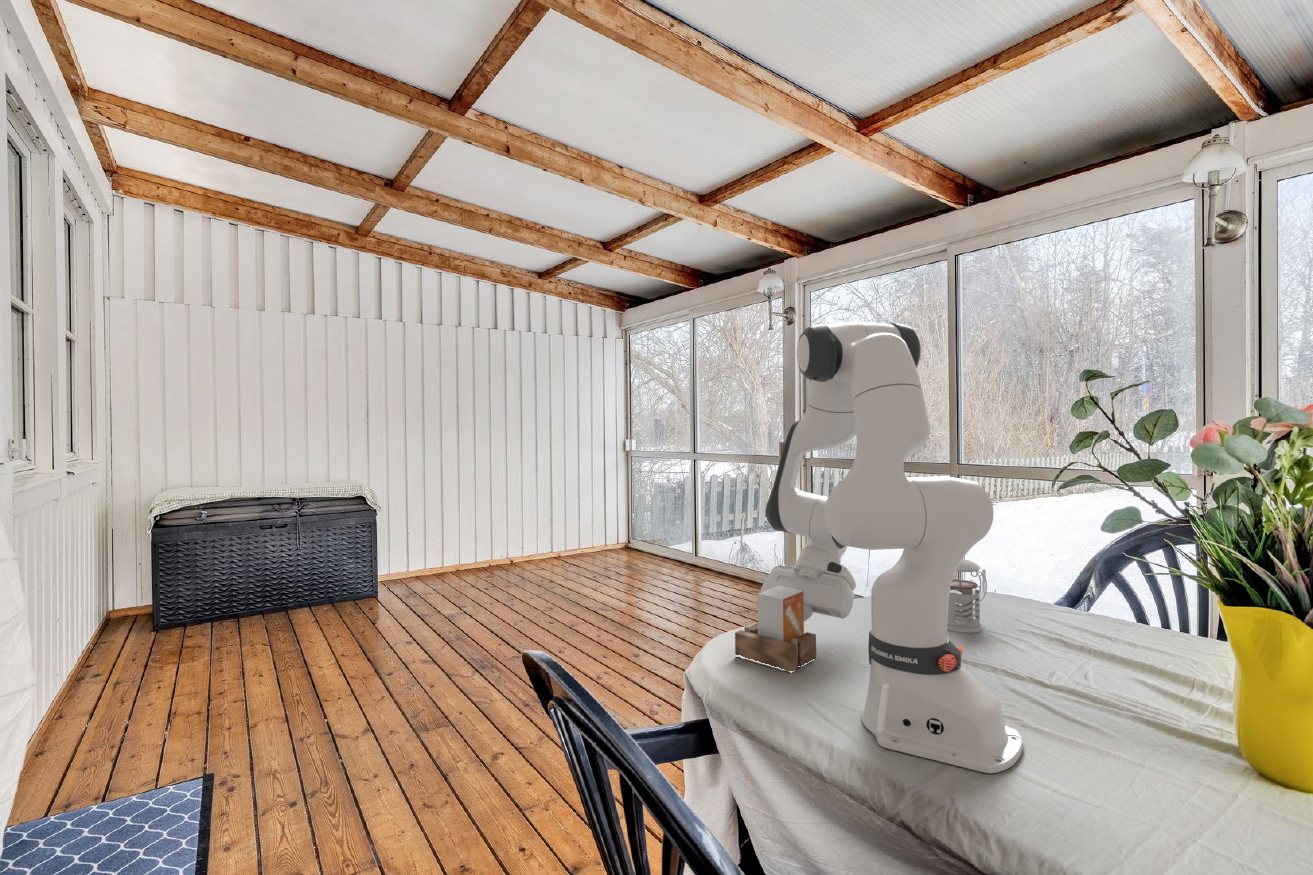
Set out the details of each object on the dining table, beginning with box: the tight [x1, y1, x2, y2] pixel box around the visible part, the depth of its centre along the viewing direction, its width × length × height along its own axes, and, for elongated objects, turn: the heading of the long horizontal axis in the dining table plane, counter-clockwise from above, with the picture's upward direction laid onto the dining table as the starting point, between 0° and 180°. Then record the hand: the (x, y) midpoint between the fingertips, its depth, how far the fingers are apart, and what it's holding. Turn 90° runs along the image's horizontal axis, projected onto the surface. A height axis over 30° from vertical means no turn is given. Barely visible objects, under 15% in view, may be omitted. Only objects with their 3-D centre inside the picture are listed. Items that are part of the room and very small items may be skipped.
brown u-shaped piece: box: [734, 622, 817, 671], centre depth 129 cm, size 13×10×6 cm
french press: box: [947, 558, 988, 634], centre depth 146 cm, size 10×12×25 cm
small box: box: [756, 586, 805, 643], centre depth 130 cm, size 8×6×13 cm
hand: (792, 625), depth 134 cm, fingers closed, pressing on small box
